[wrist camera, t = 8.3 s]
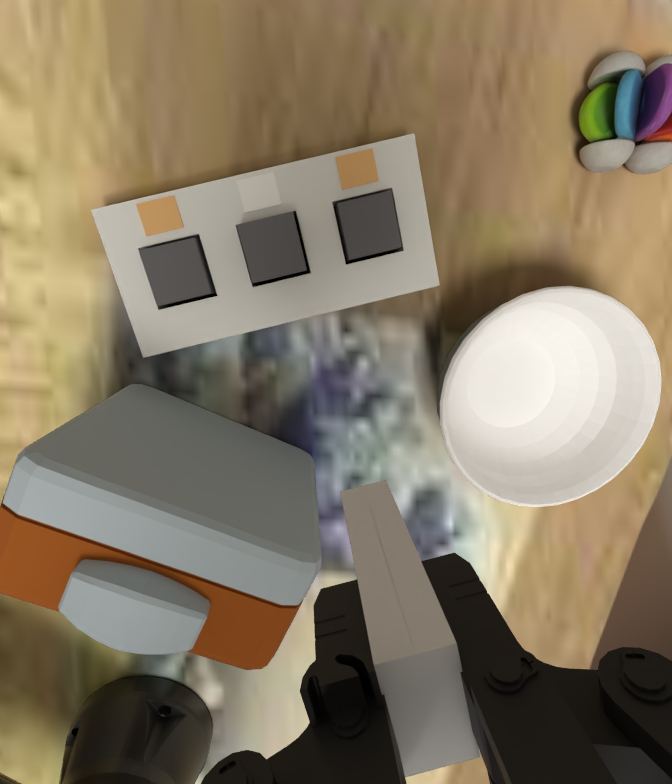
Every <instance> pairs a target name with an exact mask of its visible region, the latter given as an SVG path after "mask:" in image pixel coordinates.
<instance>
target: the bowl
mask: <svg viewBox="0 0 672 784" xmlns="http://www.w3.org/2000/svg"><path fill="white" fill-rule="evenodd" d="M660 392H661V371H660V362H659V358H658V355H657V352H656V348H655V345H654V342H653V340H652V339H651V337H650V335H649V333H648V332H647V330H646V328H645V326H644V325H643V323H642V322H641V321H640V320H639V319H638V318H637V317H636V316H635V314H634V313H633V312H632V311H631V310H630V309H629V308H628V307H626V306H625V305H623V304H622V303H620V302H619V301H617V300H616V299H614V298H613V297H611V296H609V295H606V294H603V293H601V292H598V291H595V290H593V289H589V288H581V287H574V286H560V287H547V288H543V289H539V290H536V291H532V292H529V293H525V294H522V295H520V296H518V297H516V298H514V299H512V300H510V301H508V302H506V303H504V304H502V305H500V306H498V307H496V308H494V309H492V310H490V311H488V312H486V313H485V314H484V315H482V316H481V317H480V318H479V319H477V320H476V321H475V322H473V323H472V324H471V325H470V326H469V327H468V328H467V329H466V331H465V332H464V333H463V334H462V335H461V336H460V337H459V338H458V340H457V341H456V343H455V344H454V346H453V348H452V349H451V351H450V352H449V354H448V356H447V358H446V361H445V363H444V366H443V369H442V371H441V374H440V379H439V384H438V390H437V411H438V416H439V420H440V426H441V431H442V435H443V440H444V444H445V447H446V449H447V451H448V453H449V455H450V458H451V460H452V462H453V464H454V465H455V466H456V468H457V469H458V470H459V471H460V473H461V474H462V475H463V477H464V478H465V479H466V480H467V481H468V482H470V483H471V484H472V485H473V486H474V487H476V488H477V489H478V490H479V491H481V492H483V493H484V494H486V495H488V496H490V497H492V498H494V499H496V500H499V501H502V502H506V503H509V504H513V505H517V506H530V507H542V506H551V505H559V504H562V503H566V502H569V501H573V500H576V499H579V498H581V497H583V496H585V495H587V494H589V493H591V492H593V491H595V490H597V489H599V488H600V487H601V486H603V485H604V484H606V483H607V482H609V481H610V480H611V479H613V478H614V477H615V476H616V475H617V474H618V473H619V472H620V471H621V470H622V469H624V468H625V467H626V466H627V465H628V464H629V463H630V461H631V460H632V459H633V457H634V456H635V455H636V453H637V452H638V451H639V449H640V448H641V447H642V445H643V443H644V442H645V440H646V438H647V436H648V434H649V432H650V430H651V428H652V426H653V423H654V420H655V416H656V413H657V410H658V406H659V401H660Z"/></svg>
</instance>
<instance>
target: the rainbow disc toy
mask: <svg viewBox="0 0 672 784" xmlns="http://www.w3.org/2000/svg"><path fill="white" fill-rule="evenodd" d="M587 86H588V88H589V89H590V90H592V92H590V93H589V95H588V96H587V97H586V98H585V100H584V102H583V103H582V106H581V108H580V111H579V126H580V129H581V132H582V134H583V135H584V137H585V138H586V139H587V140H588V141H589V142H590V143H591V144H589V145H586V146H584V147H583V148H581V150H580V152H579V153H580V159H581V162H582V164H583V165H584V167H586V168H587V169H588V170H590V171H592V172H607V171H612V170H615V169H617V168H618V167H620V166H621V165H623V164H624V163H625V165H626V167H627V168H628V169H629V170H630V171H631V172H633V173H635V174H651V173H656V172H659V171H661V170H663V169H664V168H666V167H667V166H669V165H670V164H671V163H672V54H671V55H666V56H663V57H661V58H659V59H657V60H655V61H654V62H652V63H651V64H650V65H649V66H648V67H647V68H645V64H644V61H643V59H642V58H641V57H640V56H639V55H638V54H636V53H634V52H632V51H620V52H616V53H613V54H611V55H609V56H607V57H606V58H605V59H603V60H602V61H601V62H600V63H599V64H598V65H597V66H596V67H595V69H594V70H593V72H592V74H591V76H590V78H589V81H588V85H587Z"/></svg>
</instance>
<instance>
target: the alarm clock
mask: <svg viewBox="0 0 672 784" xmlns="http://www.w3.org/2000/svg"><path fill="white" fill-rule="evenodd" d="M321 559H322V556H321V542H320V529H319V517H318V504H317V492H316V478H315V466H314V459H313V458H312V457H311V455H310V454H308V453H307V452H305V451H303V450H302V449H300V448H297V447H295V446H292V445H290V444H288V443H285V442H283V441H280V440H278V439H276V438H273V437H271V436H269V435H266V434H264V433H261V432H259V431H256V430H254V429H251V428H249V427H246V426H244V425H242V424H239V423H237V422H234V421H232V420H229V419H227V418H225V417H222V416H220V415H217V414H215V413H213V412H210V411H208V410H205V409H203V408H201V407H198V406H196V405H194V404H191V403H189V402H186V401H184V400H182V399H179V398H177V397H174V396H172V395H169V394H167V393H164V392H162V391H160V390H157V389H155V388H152V387H150V386H146V385H142V384H130V385H129V386H127V387H125V388H124V389H122V390H120V391H119V392H117V393H115V394H114V395H112V396H110V397H109V398H107V399H105V400H104V401H102V402H100V403H99V404H97V405H95V406H94V407H92V408H90V409H89V410H87V411H85V412H84V413H82V414H80V415H79V416H77V417H75V418H74V419H72V420H70V421H69V422H67V423H65V424H64V425H62V426H60V427H59V428H57V429H55V430H54V431H52V432H50V433H49V434H47V435H45V436H44V437H42V438H40V439H39V440H37V441H35V442H34V443H32V444H30V445H29V446H27V447H26V448H25V449H24V450H23V451H21V452H20V453H19V454H18V457H17V459H16V462H15V465H14V468H13V471H12V474H11V477H10V480H9V483H8V486H7V488H6V491H5V495H4V497H3V500H2V503H1V506H0V593H1V594H4V595H8V596H11V597H14V598H17V599H20V600H24V601H27V602H30V603H33V604H36V605H40V606H43V607H46V608H49V609H52V610H56V611H59V612H61V613H62V614H63V615H64V616H65V617H66V618H67V619H68V620H69V621H70V622H71V623H72V624H73V625H74V626H75V627H76V628H77V629H79V630H80V631H82V632H83V633H85V634H86V635H88V636H89V637H91V638H93V639H94V640H96V641H97V642H100V643H102V644H104V645H106V646H108V647H110V648H112V649H114V650H117V651H123V652H129V653H136V654H158V655H165V654H171V653H178V652H185V651H187V652H191V653H194V654H197V655H200V656H203V657H207V658H210V659H213V660H216V661H220V662H223V663H226V664H229V665H232V666H236V667H239V668H242V669H245V670H252V669H262V668H263V667H265V666H267V665H268V663H269V662H270V661H271V659H272V658H273V656H274V655H275V653H276V651H277V649H278V648H279V646H280V644H281V642H282V640H283V638H284V636H285V634H286V632H287V630H288V628H289V626H290V625H291V623H292V621H293V619H294V617H295V615H296V613H297V611H298V609H299V607H300V605H301V604H302V602H303V599H304V597H305V596H306V594H307V592H308V590H309V588H310V586H311V584H312V582H313V581H314V579H315V577H316V575H317V573H318V571H319V569H320V567H321Z"/></svg>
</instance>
